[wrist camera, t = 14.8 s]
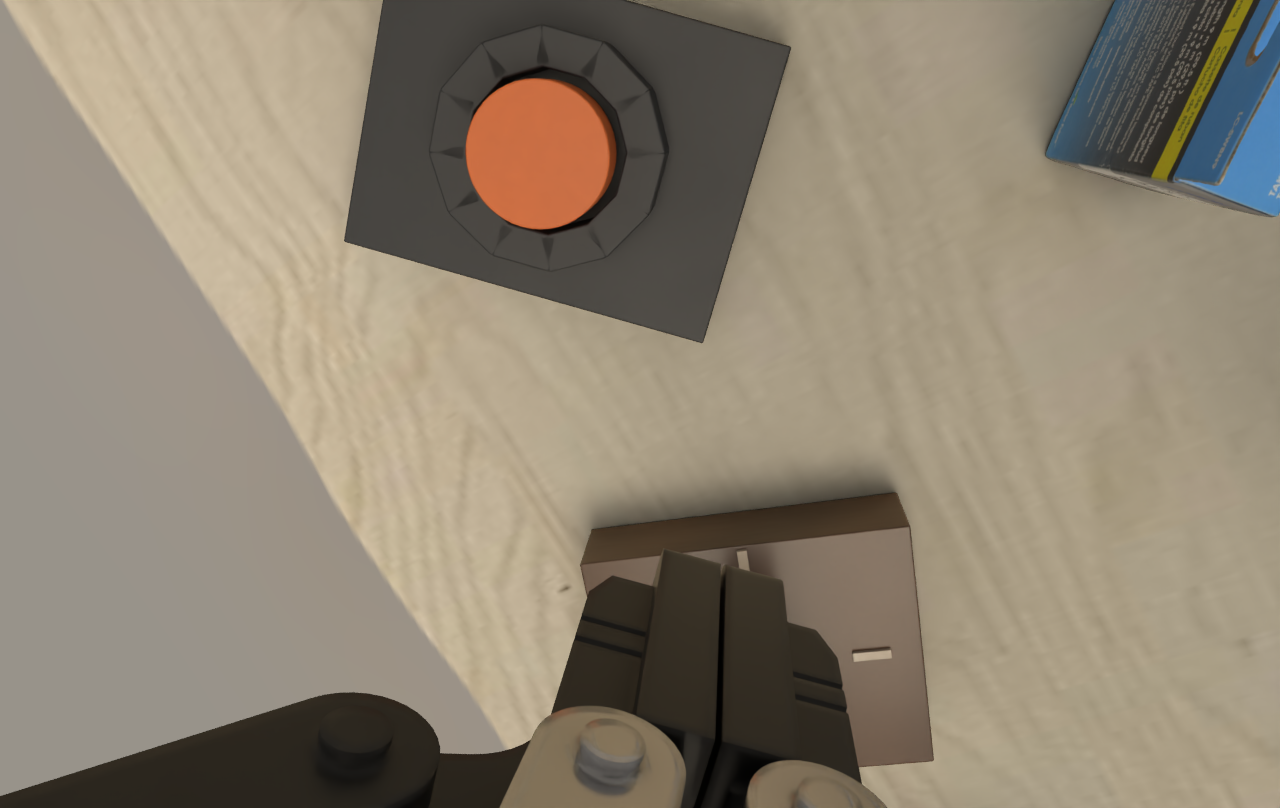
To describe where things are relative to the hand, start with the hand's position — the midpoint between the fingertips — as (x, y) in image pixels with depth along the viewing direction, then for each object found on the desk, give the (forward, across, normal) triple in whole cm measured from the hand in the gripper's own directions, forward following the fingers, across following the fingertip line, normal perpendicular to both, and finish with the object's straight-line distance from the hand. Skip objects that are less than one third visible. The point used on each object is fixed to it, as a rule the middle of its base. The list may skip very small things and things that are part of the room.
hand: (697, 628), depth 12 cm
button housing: (+24, +7, -4) cm, 25 cm away
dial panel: (+25, -5, +13) cm, 28 cm away
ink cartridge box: (+24, -11, -12) cm, 29 cm away
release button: (+20, +7, -4) cm, 22 cm away
